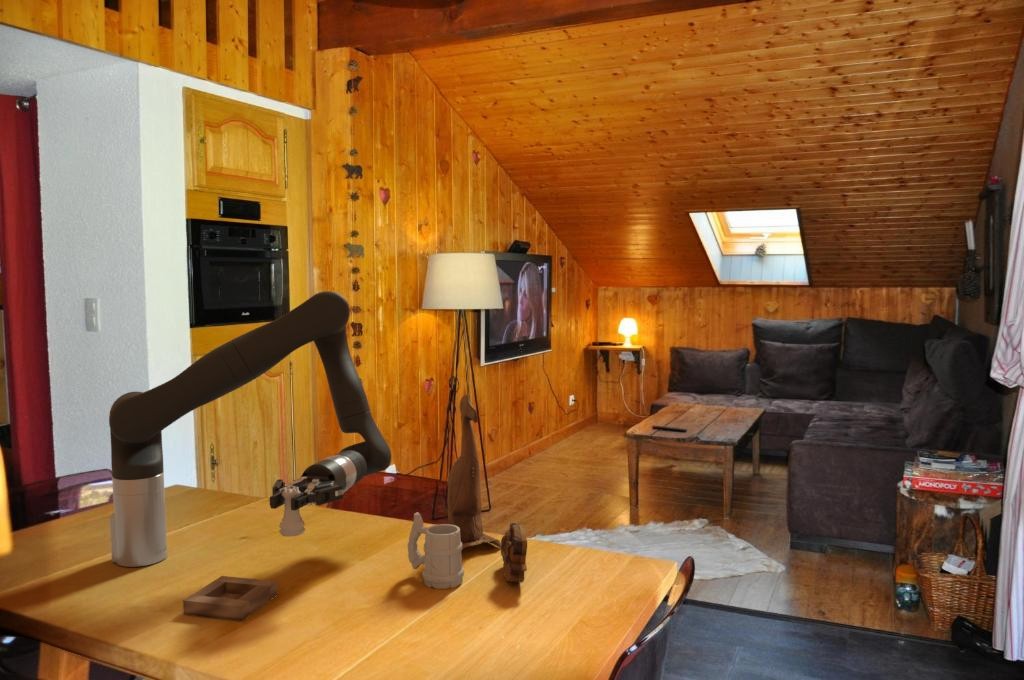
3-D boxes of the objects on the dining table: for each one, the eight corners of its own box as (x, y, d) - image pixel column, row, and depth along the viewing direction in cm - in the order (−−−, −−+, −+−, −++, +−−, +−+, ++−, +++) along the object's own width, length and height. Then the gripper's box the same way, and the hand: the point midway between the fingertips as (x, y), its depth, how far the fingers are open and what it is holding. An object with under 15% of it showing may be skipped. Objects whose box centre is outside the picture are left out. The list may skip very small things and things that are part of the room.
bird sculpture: (457, 562, 160) (460, 402, 156) (425, 545, 169) (427, 393, 165) (502, 550, 167) (506, 397, 163) (469, 534, 176) (471, 388, 172)
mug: (448, 593, 144) (447, 527, 143) (396, 580, 150) (395, 516, 149) (472, 578, 151) (471, 515, 150) (421, 566, 157) (420, 506, 156)
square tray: (183, 614, 136) (182, 600, 135) (222, 589, 146) (222, 575, 146) (241, 621, 133) (241, 606, 133) (277, 595, 144) (276, 581, 143)
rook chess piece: (310, 530, 143) (309, 485, 142) (295, 538, 139) (294, 492, 138) (288, 527, 145) (287, 483, 144) (273, 535, 140) (272, 490, 140)
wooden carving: (492, 563, 158) (492, 513, 158) (515, 561, 159) (515, 512, 159) (509, 597, 142) (509, 541, 142) (535, 594, 143) (535, 539, 142)
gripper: (295, 456, 156) (245, 479, 140) (363, 461, 153) (319, 485, 136) (296, 494, 157) (246, 522, 141) (364, 500, 154) (320, 528, 137)
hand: (282, 503), depth 139 cm, fingers closed on rook chess piece, 3 cm apart
